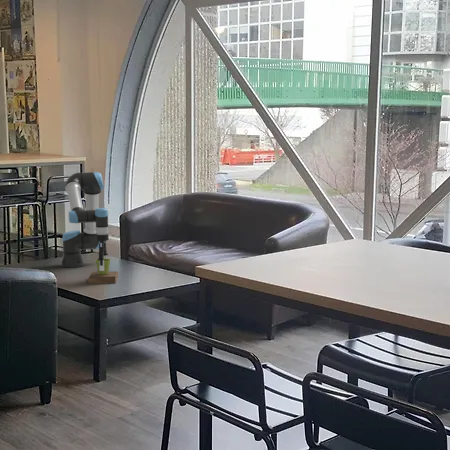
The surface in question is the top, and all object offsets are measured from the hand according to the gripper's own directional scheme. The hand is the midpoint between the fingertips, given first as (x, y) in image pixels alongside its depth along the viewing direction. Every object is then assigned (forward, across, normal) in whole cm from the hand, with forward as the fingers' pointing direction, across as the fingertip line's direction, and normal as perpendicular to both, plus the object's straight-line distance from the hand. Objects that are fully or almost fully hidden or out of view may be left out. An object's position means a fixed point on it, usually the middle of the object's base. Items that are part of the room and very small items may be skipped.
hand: (103, 268), depth 427 cm
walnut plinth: (+8, 0, 0) cm, 8 cm away
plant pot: (+4, 0, 0) cm, 4 cm away
